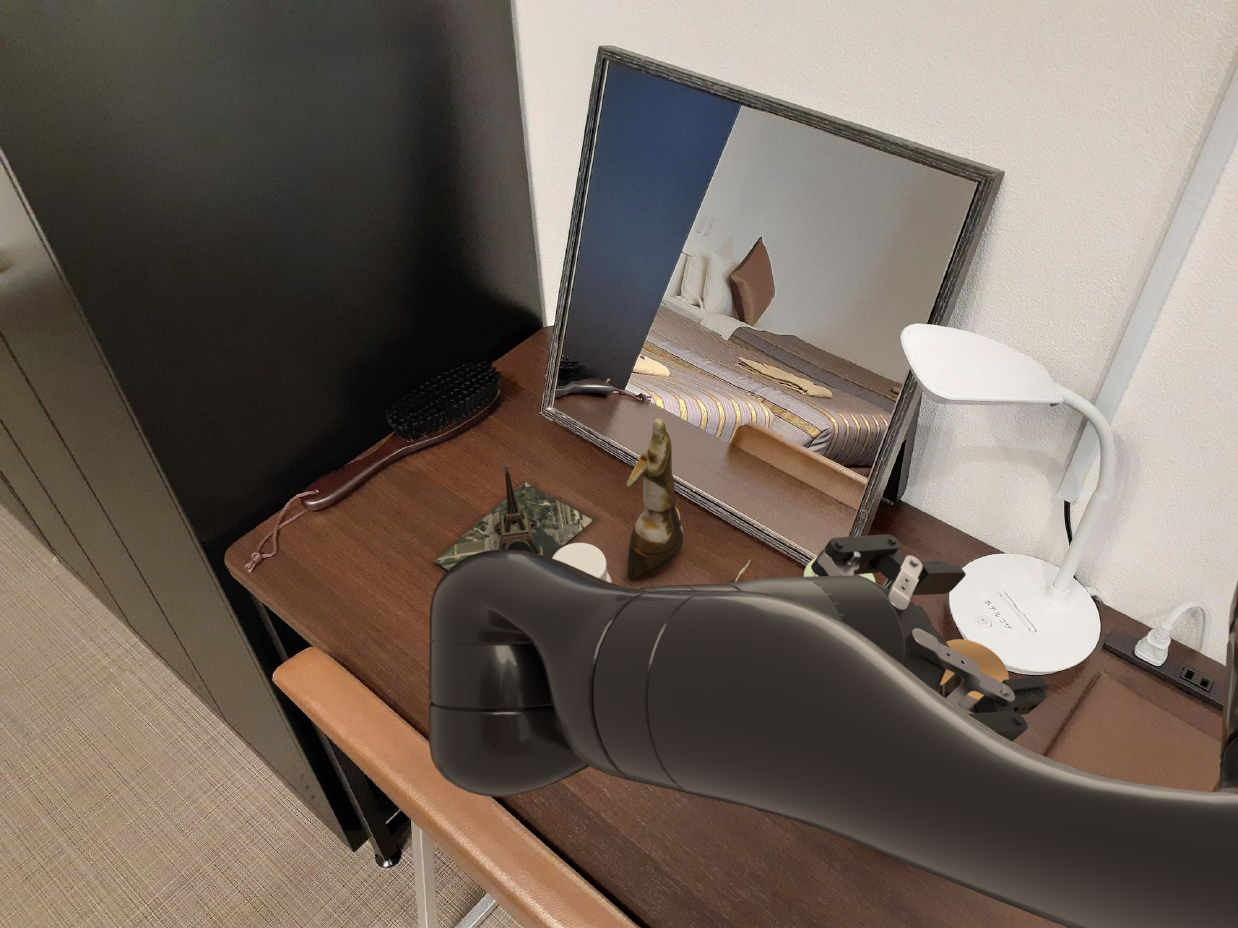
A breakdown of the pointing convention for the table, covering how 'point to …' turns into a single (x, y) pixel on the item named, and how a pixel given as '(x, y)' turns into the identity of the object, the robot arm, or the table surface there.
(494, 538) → the eiffel tower figurine
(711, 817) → the table surface
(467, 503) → the table surface
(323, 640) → the table surface
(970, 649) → the cap
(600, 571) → the pill bottle
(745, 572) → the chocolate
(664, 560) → the figurine
